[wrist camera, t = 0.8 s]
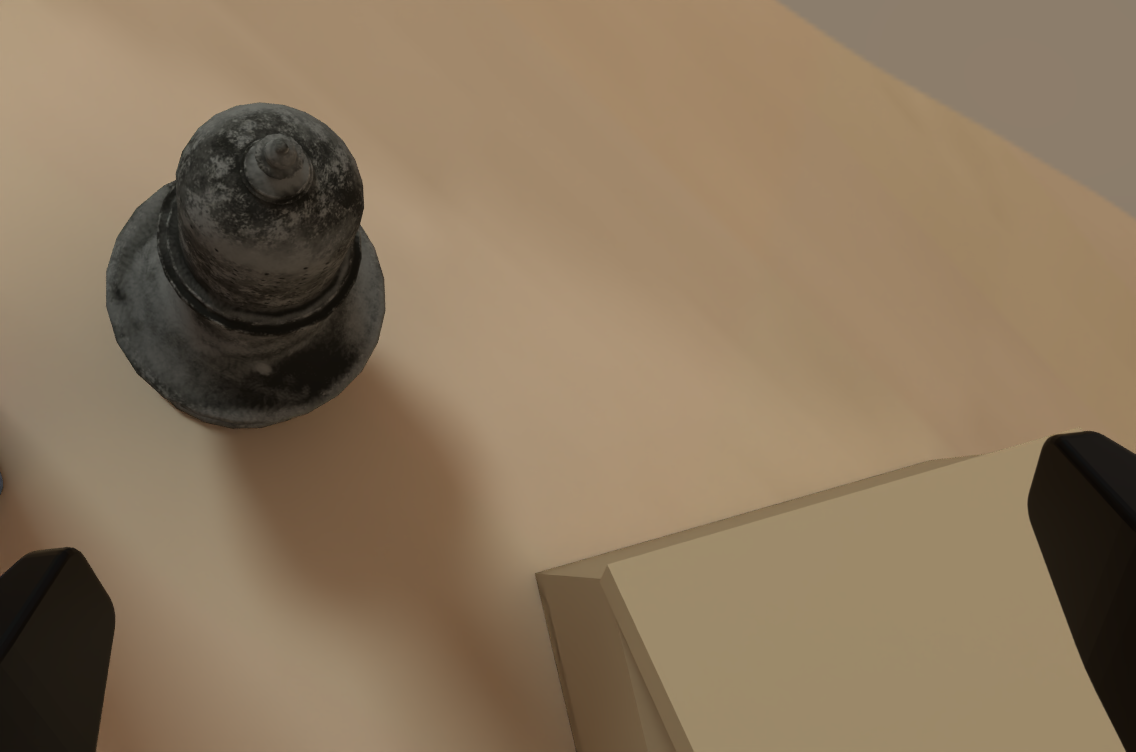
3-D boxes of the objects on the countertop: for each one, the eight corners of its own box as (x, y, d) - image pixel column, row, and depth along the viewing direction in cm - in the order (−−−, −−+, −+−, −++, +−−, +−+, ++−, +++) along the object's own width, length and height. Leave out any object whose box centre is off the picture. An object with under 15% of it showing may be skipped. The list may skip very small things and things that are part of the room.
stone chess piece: (177, 176, 25) (157, -125, 14) (393, 269, 26) (535, 67, 15) (76, 389, 23) (-39, 244, 12) (313, 474, 25) (405, 415, 14)
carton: (1014, 768, 31) (1157, 807, 26) (622, 949, 25) (716, 1038, 21) (930, 460, 31) (1056, 445, 27) (535, 573, 26) (606, 579, 22)
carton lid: (599, 581, 21) (607, 564, 21) (1062, 443, 27) (1079, 426, 26) (848, 1132, 16) (869, 1129, 15) (1368, 818, 21) (1398, 808, 21)
